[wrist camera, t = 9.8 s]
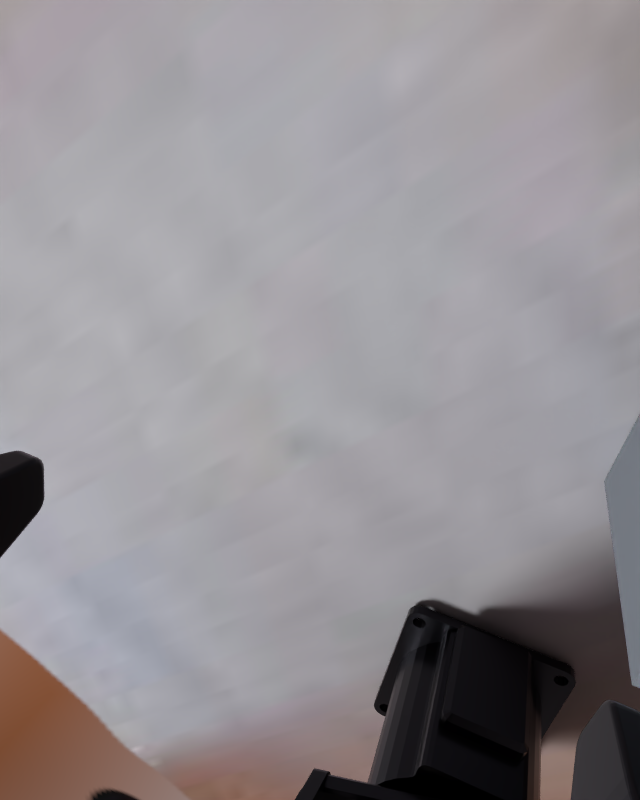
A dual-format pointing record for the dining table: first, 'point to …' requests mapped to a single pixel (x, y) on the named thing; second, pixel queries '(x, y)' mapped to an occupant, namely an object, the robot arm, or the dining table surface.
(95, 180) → the dining table surface
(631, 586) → the cabinet
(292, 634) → the dining table surface
